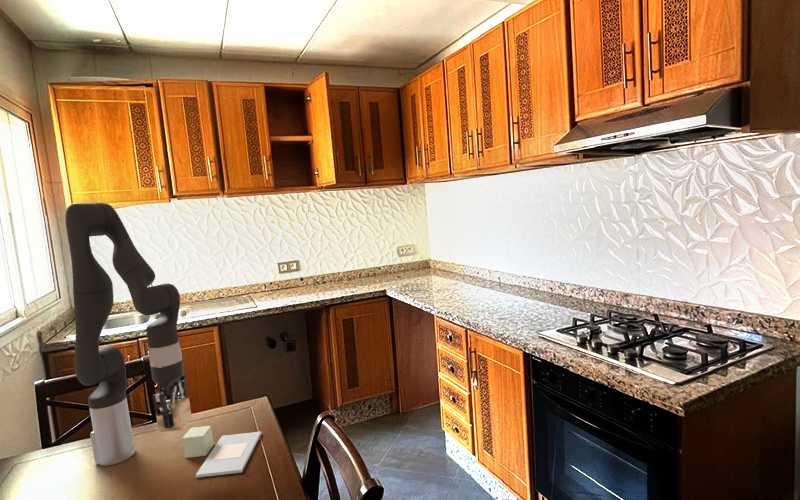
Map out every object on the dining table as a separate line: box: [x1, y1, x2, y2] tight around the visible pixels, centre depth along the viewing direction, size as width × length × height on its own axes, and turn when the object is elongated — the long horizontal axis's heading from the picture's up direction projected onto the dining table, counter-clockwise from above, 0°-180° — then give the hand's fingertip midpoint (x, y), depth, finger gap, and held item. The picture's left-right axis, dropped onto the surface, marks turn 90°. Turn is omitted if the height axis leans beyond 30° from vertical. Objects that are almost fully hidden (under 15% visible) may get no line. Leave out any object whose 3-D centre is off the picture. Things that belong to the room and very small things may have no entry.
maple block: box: [155, 397, 193, 433], centre depth 119 cm, size 6×6×6 cm
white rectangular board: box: [195, 431, 262, 478], centre depth 128 cm, size 12×20×1 cm, turn 3°
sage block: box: [181, 425, 215, 459], centre depth 131 cm, size 6×6×6 cm
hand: (175, 421), depth 119 cm, fingers closed on maple block, 6 cm apart
